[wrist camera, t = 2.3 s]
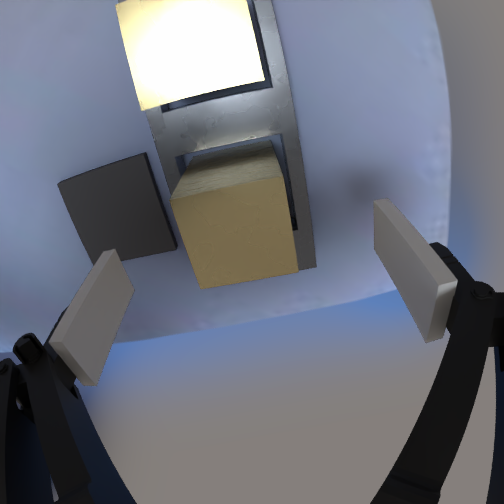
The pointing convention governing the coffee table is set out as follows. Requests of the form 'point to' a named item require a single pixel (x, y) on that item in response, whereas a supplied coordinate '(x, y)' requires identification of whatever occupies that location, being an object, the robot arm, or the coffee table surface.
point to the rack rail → (242, 129)
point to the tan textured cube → (235, 216)
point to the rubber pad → (119, 210)
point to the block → (187, 47)
